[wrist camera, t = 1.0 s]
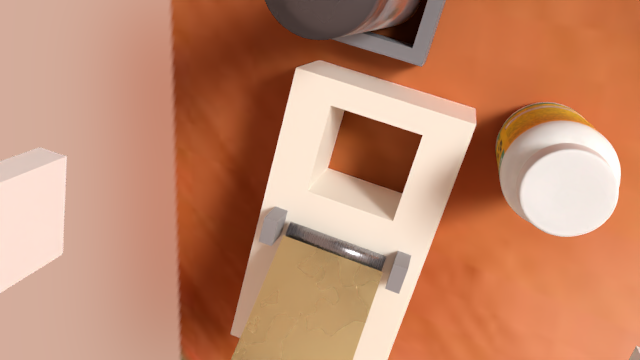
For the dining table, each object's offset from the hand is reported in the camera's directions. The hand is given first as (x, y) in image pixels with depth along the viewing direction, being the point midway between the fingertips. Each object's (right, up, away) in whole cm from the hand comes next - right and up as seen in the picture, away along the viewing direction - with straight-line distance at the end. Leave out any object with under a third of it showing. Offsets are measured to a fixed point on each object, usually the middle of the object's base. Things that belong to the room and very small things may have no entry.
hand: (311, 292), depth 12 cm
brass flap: (0, -5, +18) cm, 19 cm away
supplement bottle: (+13, +5, +20) cm, 25 cm away
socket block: (+3, 0, +24) cm, 24 cm away
